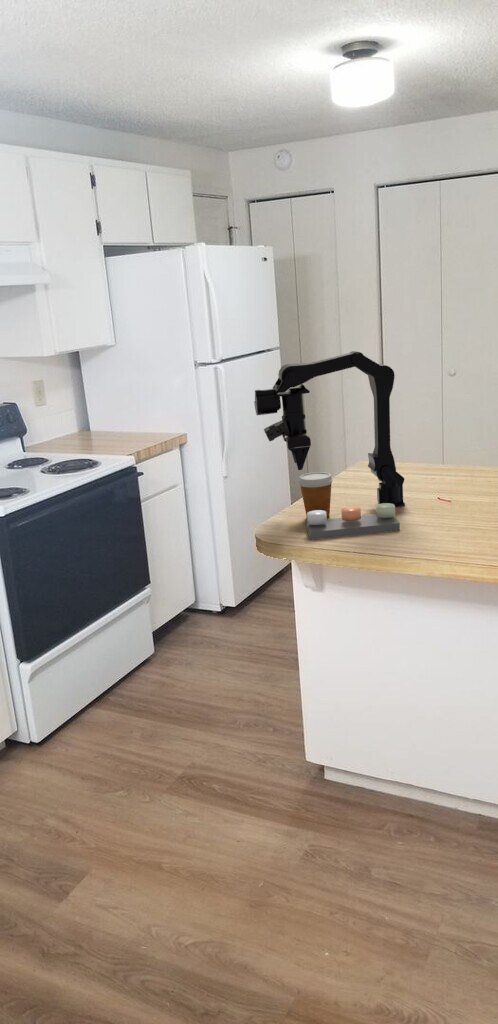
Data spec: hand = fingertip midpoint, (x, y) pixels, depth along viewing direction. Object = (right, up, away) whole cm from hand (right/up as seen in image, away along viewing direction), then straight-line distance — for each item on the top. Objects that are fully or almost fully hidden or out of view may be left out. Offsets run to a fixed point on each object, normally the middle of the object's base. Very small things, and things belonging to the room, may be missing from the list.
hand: (298, 466), depth 230 cm
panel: (+13, -17, -14) cm, 26 cm away
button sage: (+22, -14, -14) cm, 29 cm away
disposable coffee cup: (+5, -14, 0) cm, 15 cm away
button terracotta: (+13, -14, -14) cm, 24 cm away
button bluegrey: (+4, -15, -15) cm, 22 cm away
